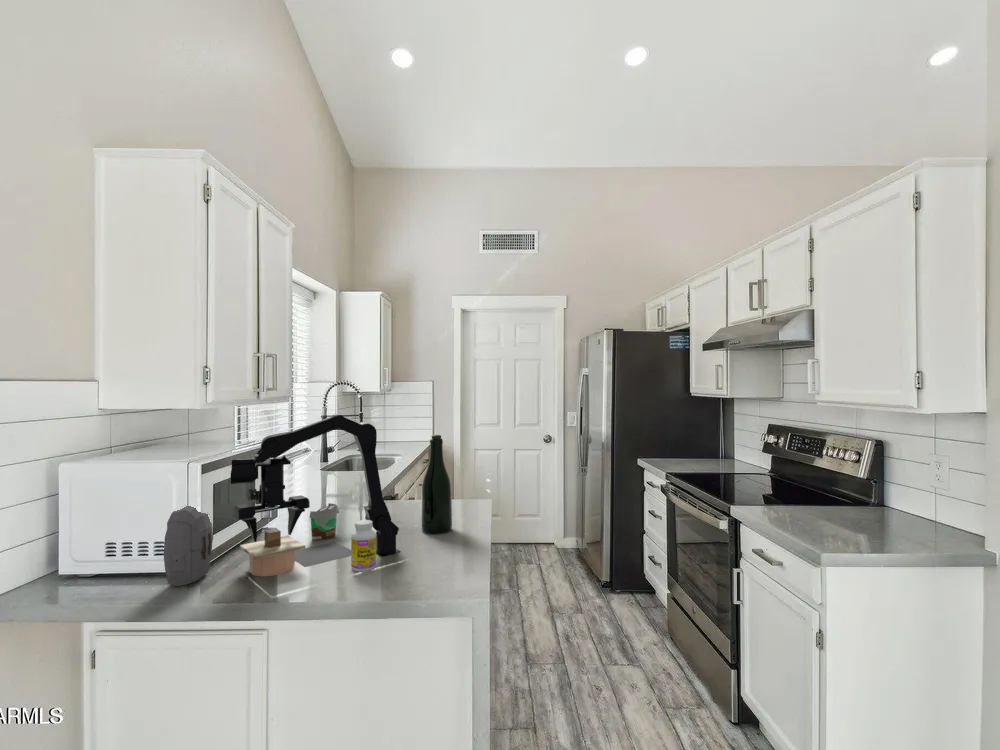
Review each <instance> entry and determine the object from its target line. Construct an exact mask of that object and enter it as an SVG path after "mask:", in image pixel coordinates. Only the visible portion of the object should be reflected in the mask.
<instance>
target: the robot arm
mask: <svg viewBox="0 0 1000 750" xmlns="http://www.w3.org/2000/svg"><path fill="white" fill-rule="evenodd" d="M338 429H339V430H341V431H344V432H346V433H349V434H351V435H353V438H354V442H355V444H356V446H357V448H358V451H359V453H360V455H361V462H362V467H363V473H364V479H365V484H366V491H367V497H368V503H367V505H363V510H364V512H365V519H364V520H371V521H372V522H373V526H372V529H373V530H374V531H375V532H376V556H379V557H383V558H384V557H388V556H391V555H396V554H399V553H401V550H399V549H397V535H398V534H399V530H400V527H399V526H398V525H396V524H395V522H393V521H392V517H391V515H390V511H389V508H388V506H387V504H386V501H385V500H384V497H383V491H382V486H381V478H380V473H379V468H378V467H379V466H378V462H377V461H378V460H377V456H376V455H377V454H376V450H377V449H376V448H377V444H378V443H377V439H378V437H377V435H378V434H377V433H378V432H377V428H375V426H374V425H373V424H370V423H368V422H365V421H364V422H363V421H360V422H356V421H354V420H352V419H350V418H347V417H345V416H344V415H342V414H340V413H334V414H332V415H331V416H330V417H329V416H328V417H326V418H324V419H321V420H319V421H316V422H312V423H310V424H308V425H305V426H302V427H301V428H297V429H295V430H292V431H291V430H290V431H286V432H279V433H274V434H270V435H269V434H268V435H267V436H265V437H264V438H263V439H262V440H261V442H260V449H259V450H258V451H257V452H256V453H255V455H254V456H253V458H251V457H250V458H232V459H231V470H230V485H231V486H232V485H233V486H234V485H245V484H254V483H255V482H254V481H256V480H258V479H259V467H260V484H259V489H258V490H257V488H250V489H247V501H248V502H254V503H255V505H253V504H251V503H243V504H242V503H241V504H236V505H235V506H234V507H233V509H232V516H233V517H234V518H236V519H237V520H240V521H242V522H244V523H245V524H246V525H247V528H248V531H249V533H250V536H251V538H252V540H253V542H258V541H257V539H258V529H257V528H258V526H257V523H258V521H257V518H256V517H255V515H256V514H258V513H264V512H269V511H276V510H282V509H287V512H288V519H287V520H288V521H287V535H288V536H291V535H292V533H293V531H294V529H295V526H296V524H297V522H298V520H299V518H300V517H301V515H302V513H304V512H306V509H309V508H310V499H309V498H308V497H306V496H304V495H302V494H301V495H294V496H289V497H288V500H285V498H284V497H285V496H284V495H285V494H284V493H285V492H284V490H286V485H285V483H284V476H285V475H284V474H285V473H284V469H285V468H284V465H291V464H292V461H291V460H290V459H288V458H287V457H286V455H285V453H286V452H289V450H291V449H292V448H294V447H296V446H297V445H299V444H302V443H304V442H306V441H309V440H311V439H314V438H317V437H320V436H322V435H324V434H327V433H330V432H332V431H336V430H338ZM283 454H284V455H283ZM281 455H282V456H281ZM279 456H281V457H279ZM278 457H279V458H278ZM267 460H269V461H267ZM265 461H266V462H265Z"/></svg>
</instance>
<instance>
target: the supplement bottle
mask: <svg viewBox="0 0 1000 750" xmlns="http://www.w3.org/2000/svg"><path fill="white" fill-rule="evenodd" d="M372 526H373V522H372V521H371V520H366V519H362V520H357V521H355V523H354V528H355V530H354V531H353V532H352V533H351V535H350V536H351V537H350V538H351V539H350V540H351V541H350V542H351V543H350V545H351V547H350V548H351V549H350V550H351V556H350V558H351V559H350V560H351V561H350V562H351V563H350V567H351V570H352V571H354V572H359V573H367V572H369V571H373V570H374V569H375V568H376V566H377V554H376V530H375V529H373V527H372Z"/></svg>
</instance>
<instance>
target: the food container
mask: <svg viewBox="0 0 1000 750" xmlns="http://www.w3.org/2000/svg"><path fill="white" fill-rule="evenodd" d="M339 513H340V510H339V507H338V505H337V504H336V503H332V502H331V503H329V502H328V504H327V506H326V507H322V508H319V509H318V510H316V511H310V513H309V519H310V531H311V540H312V541H322V540H323V541H324V540H328V539H332V538H334V537H335V536H336V533H337V520H338V519H337V518H338V514H339Z"/></svg>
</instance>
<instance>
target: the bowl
mask: <svg viewBox="0 0 1000 750" xmlns="http://www.w3.org/2000/svg"><path fill="white" fill-rule="evenodd" d="M295 563H296V561H295V551H293V552H288V553H284V554H279V555H275V556H270V557H266V558H261V559H257V560H255V559H254V558H252V557H251V556H250V555H249V573H250V574H251V575H252V576H257V577H271V576H272V577H273V576H277V575H278V576H279V575H282V574H286V573H288V572H289V571H291V570H293V569H294V568H295V566H296V564H295Z"/></svg>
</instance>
